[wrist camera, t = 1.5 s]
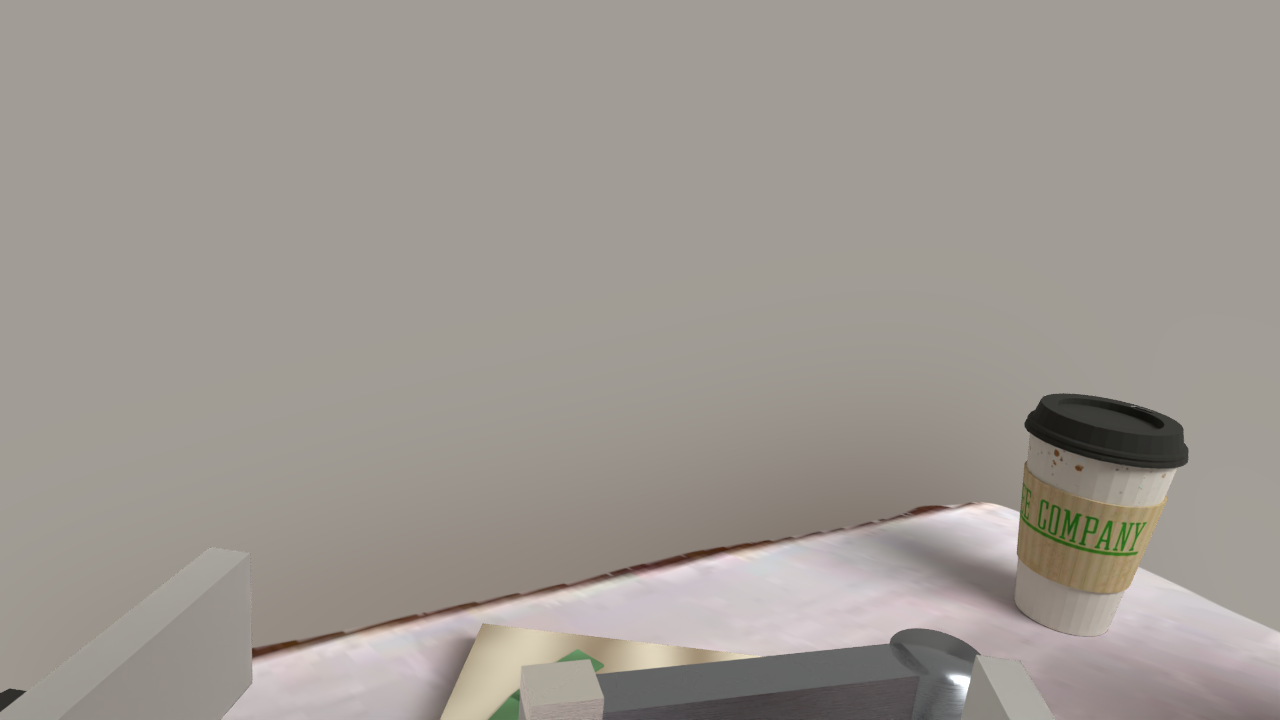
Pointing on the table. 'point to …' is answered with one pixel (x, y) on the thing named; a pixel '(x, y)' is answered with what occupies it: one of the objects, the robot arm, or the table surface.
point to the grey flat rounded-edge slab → (766, 686)
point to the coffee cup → (1090, 506)
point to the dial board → (493, 667)
